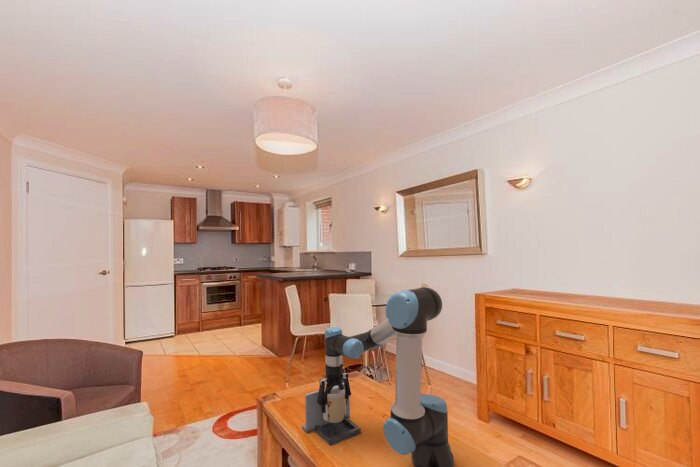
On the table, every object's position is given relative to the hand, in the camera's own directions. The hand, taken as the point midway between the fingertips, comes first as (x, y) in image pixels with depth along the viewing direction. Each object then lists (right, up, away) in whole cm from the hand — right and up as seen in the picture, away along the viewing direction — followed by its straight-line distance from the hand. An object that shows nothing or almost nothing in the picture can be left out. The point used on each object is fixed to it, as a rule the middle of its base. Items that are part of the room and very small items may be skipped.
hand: (334, 416), depth 146 cm
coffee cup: (0, -1, 0) cm, 1 cm away
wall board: (-4, -6, +6) cm, 9 cm away
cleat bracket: (+1, -6, -1) cm, 6 cm away
